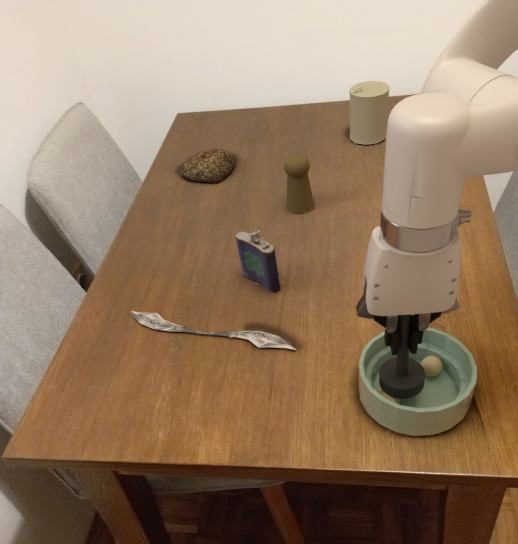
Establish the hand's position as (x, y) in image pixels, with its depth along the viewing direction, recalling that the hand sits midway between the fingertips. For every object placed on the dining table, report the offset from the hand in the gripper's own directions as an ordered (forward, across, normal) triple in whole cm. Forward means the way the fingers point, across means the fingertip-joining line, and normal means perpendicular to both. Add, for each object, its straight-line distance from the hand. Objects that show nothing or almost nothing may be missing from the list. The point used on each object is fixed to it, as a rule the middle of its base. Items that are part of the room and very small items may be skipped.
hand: (402, 346), depth 67 cm
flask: (+11, +19, -28) cm, 36 cm away
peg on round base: (+7, 0, 0) cm, 7 cm away
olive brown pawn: (+10, +11, -52) cm, 55 cm away
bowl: (+10, -2, 0) cm, 11 cm away
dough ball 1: (+8, +1, +2) cm, 9 cm away
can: (+10, -7, -80) cm, 81 cm away
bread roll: (+11, +32, -72) cm, 80 cm away
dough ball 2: (+8, -6, -3) cm, 10 cm away
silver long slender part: (+11, +28, -16) cm, 35 cm away
